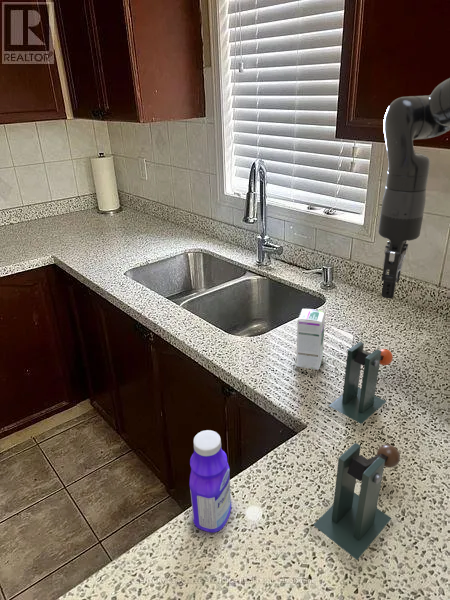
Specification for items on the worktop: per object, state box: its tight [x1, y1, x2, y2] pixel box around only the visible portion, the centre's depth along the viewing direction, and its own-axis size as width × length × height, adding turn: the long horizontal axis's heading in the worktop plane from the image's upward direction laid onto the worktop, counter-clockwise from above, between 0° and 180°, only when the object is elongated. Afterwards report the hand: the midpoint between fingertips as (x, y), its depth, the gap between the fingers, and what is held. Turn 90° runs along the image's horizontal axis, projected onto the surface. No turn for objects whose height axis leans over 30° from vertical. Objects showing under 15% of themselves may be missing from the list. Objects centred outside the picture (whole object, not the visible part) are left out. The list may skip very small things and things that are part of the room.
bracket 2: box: [312, 442, 392, 561], centre depth 68 cm, size 10×8×15 cm
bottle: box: [188, 429, 232, 534], centre depth 70 cm, size 7×6×17 cm
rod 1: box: [354, 348, 394, 366], centre depth 95 cm, size 13×4×4 cm, turn 134°
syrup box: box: [295, 308, 326, 371], centre depth 108 cm, size 6×6×14 cm
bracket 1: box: [328, 341, 387, 425], centre depth 93 cm, size 10×8×15 cm
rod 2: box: [347, 444, 401, 482], centre depth 69 cm, size 13×4×4 cm, turn 134°
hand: (390, 288), depth 92 cm, fingers open, 8 cm apart
